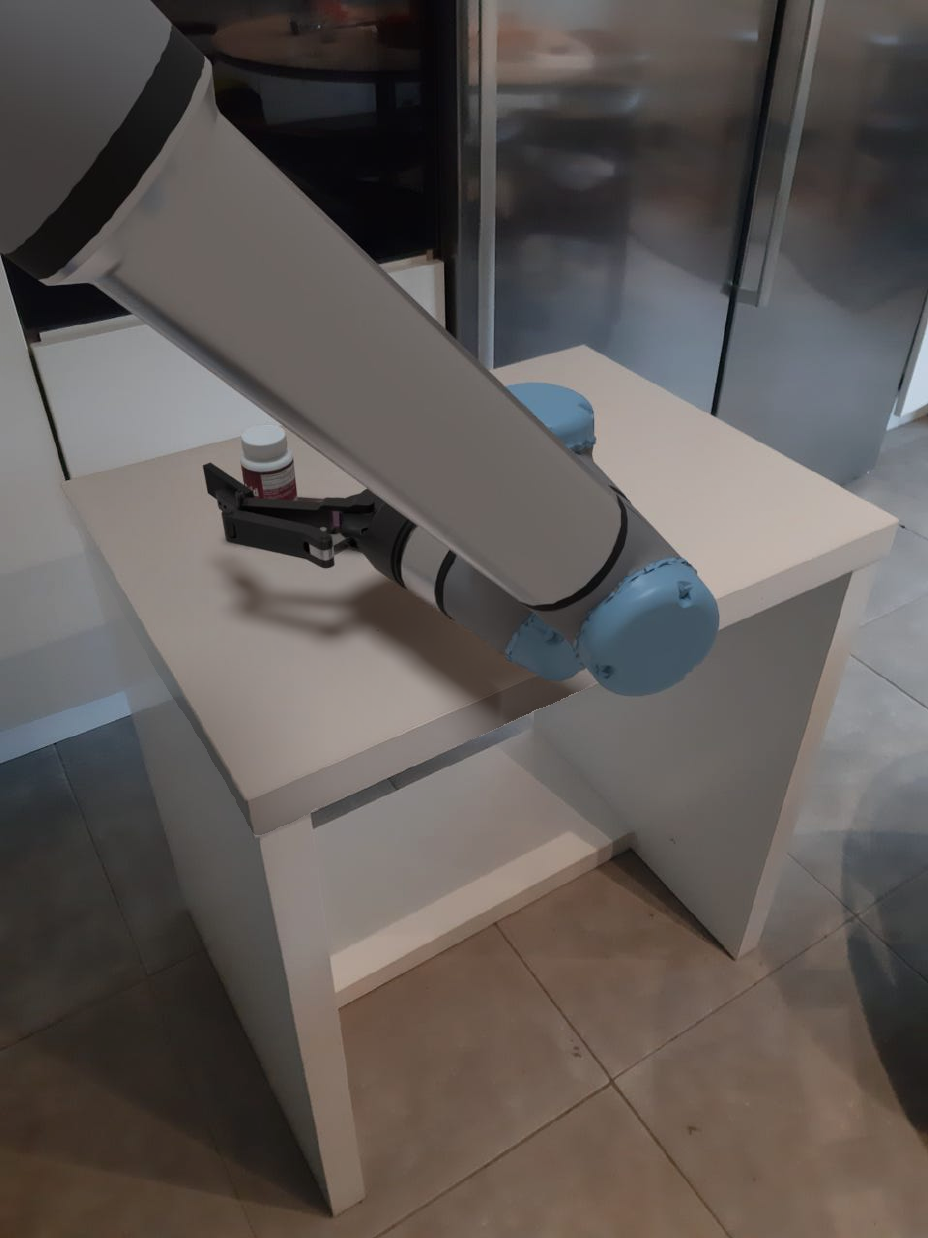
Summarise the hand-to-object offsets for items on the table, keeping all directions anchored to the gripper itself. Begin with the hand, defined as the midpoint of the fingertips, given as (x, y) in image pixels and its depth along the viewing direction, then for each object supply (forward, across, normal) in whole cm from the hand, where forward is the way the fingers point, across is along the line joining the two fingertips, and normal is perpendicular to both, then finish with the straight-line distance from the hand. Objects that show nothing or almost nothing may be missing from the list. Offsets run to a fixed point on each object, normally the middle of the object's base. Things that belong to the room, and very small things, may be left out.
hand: (275, 452), depth 87 cm
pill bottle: (+2, 0, -8) cm, 8 cm away
